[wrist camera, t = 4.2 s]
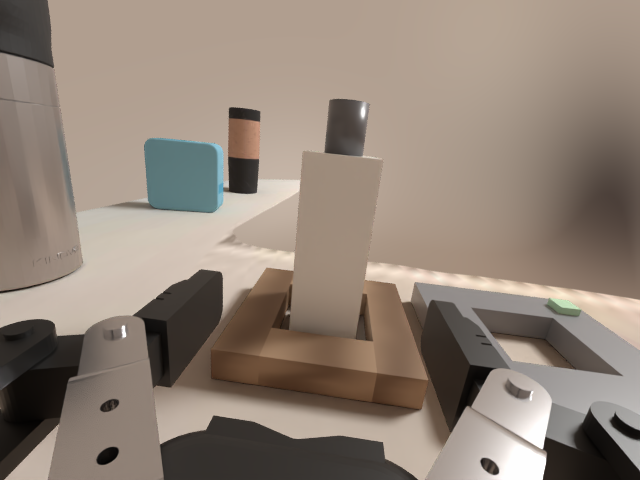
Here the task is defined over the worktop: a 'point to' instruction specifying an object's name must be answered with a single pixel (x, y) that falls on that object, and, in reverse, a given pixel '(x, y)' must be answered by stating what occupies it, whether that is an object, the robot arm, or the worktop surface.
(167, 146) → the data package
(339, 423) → the worktop surface
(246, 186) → the travel mug
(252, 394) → the worktop surface
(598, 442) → the robot arm
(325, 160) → the plug
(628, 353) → the port plate
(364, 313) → the brown square frame
